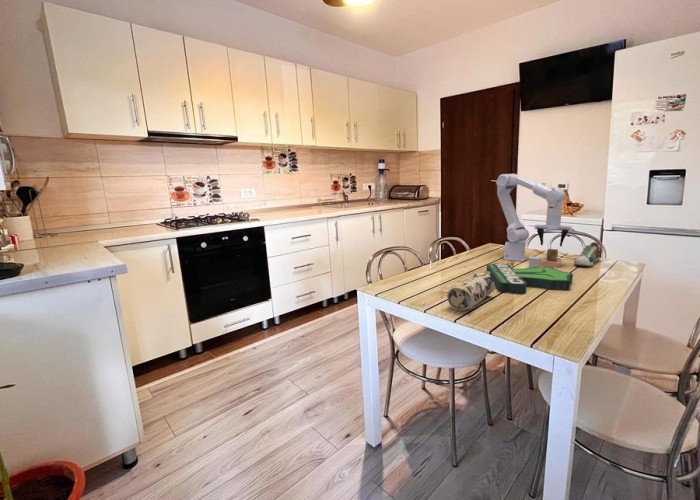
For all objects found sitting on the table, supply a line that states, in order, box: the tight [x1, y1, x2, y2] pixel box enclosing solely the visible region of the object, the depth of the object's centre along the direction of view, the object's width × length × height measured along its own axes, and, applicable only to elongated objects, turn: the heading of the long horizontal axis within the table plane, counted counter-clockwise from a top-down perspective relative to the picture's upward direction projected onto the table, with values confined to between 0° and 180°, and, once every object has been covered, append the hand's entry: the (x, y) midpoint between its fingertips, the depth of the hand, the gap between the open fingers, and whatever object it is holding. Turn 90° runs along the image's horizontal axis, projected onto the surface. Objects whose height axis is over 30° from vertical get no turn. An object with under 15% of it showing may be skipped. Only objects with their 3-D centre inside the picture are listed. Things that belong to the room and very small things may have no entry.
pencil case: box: [446, 270, 495, 312], centre depth 117 cm, size 22×8×10 cm, turn 137°
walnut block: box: [546, 248, 559, 262], centre depth 159 cm, size 4×4×5 cm
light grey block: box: [528, 256, 541, 268], centre depth 157 cm, size 4×4×5 cm
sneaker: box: [573, 241, 602, 267], centre depth 161 cm, size 8×21×10 cm, turn 131°
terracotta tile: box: [540, 257, 562, 269], centre depth 160 cm, size 7×7×3 cm
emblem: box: [486, 263, 574, 295], centre depth 138 cm, size 30×4×30 cm
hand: (551, 245), depth 158 cm, fingers open, 7 cm apart
